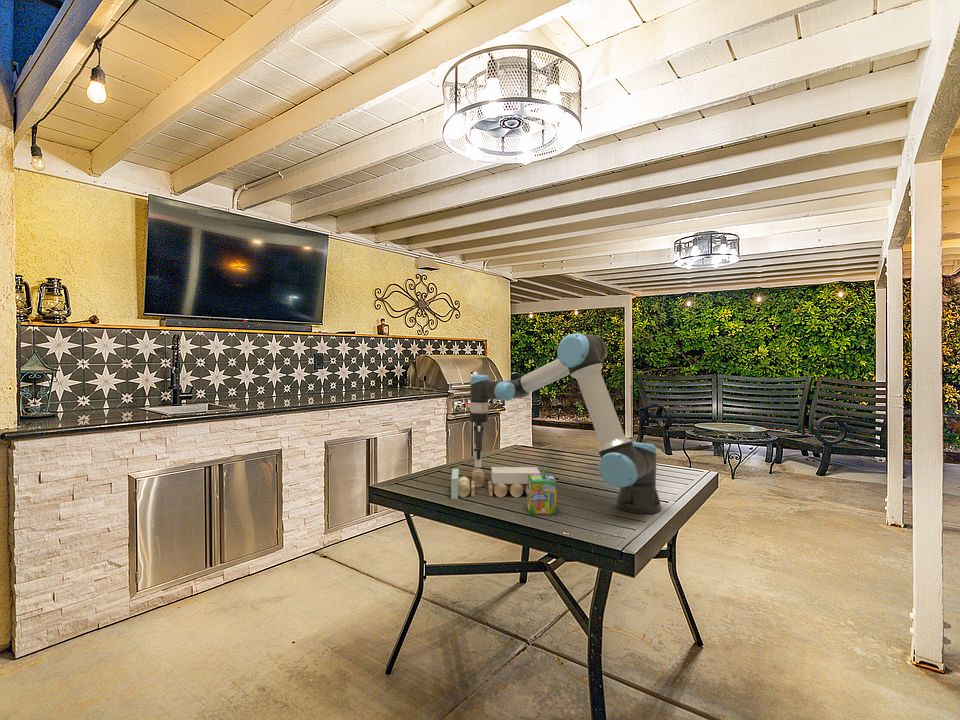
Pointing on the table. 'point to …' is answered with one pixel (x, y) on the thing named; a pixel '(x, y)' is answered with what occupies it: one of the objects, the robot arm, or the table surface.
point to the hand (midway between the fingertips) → (477, 463)
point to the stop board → (454, 483)
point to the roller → (478, 478)
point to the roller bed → (490, 488)
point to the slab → (512, 474)
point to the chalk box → (542, 493)
